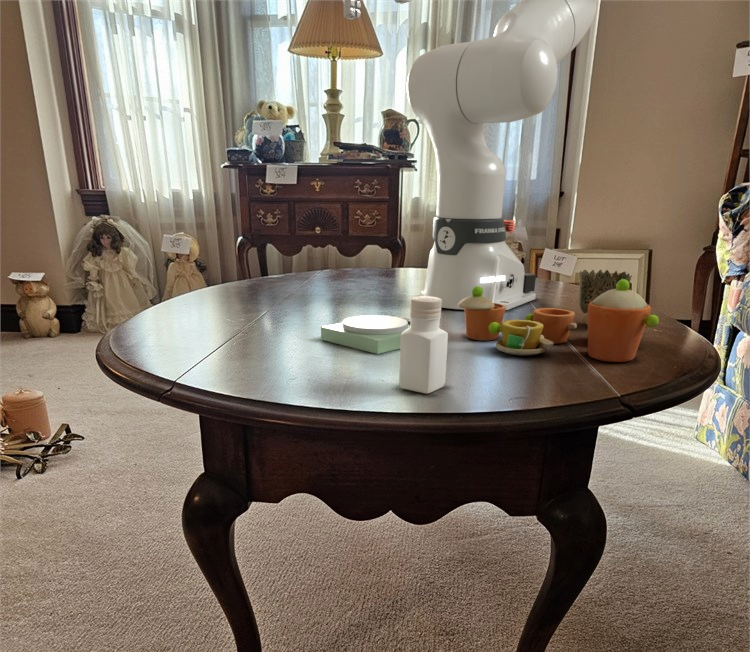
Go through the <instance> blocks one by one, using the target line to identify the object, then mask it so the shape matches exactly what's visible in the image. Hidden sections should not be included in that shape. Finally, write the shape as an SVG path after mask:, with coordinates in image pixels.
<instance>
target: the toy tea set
mask: <svg viewBox="0 0 750 652" xmlns="http://www.w3.org/2000/svg"><path fill="white" fill-rule="evenodd" d="M616 287H617V289H612V290H609V291H606V292H604V293H603V294H601V295H599V296H598V297H597V298H596V299H595V300H594V301H591V302H590V303H589V304H588V313H585V314H584V313H583V314H582V317H581V322H582V323H584V324H585V325H586V324H587V325H588V326H587V325H586V326H587V355H588V356H589V357H590V358H592V359H594V360H598V361H599V362H600V361H601V362H607V363H626V362H627V363H628V362H630V361H633V360H634V359H635V357H636V356H637V355H636V354H637V352H638V349H639V346H640V343H641V341H642V337H643V334H644V332H645V329H648V328H655V327H657V325H658V324H659V321H660V318H659V316H658V315H656V314H651V311H652V308H651V305H650V304H649V303H647V302H646V301H645V299H644V298H643V296H641V295H640V294H639V293H637V292H636V291H634V290H631V289H629V288H630V283H629V282H628V281H627V280H625V279H622V280H620V281H619V282H618V283H617V286H616ZM482 294H483V289H482V288H481V287H480V286H476V287H474V288H473V290H472V295H473V296H469V297H466V298H464V299H463V300H461V301H460V302H459V303H458V306H459V307H461V308H464V309H463V311H464V323H465V335H466V337H467V338H468V339H470V340H474V341H481V342H489V341H495V340H497V339H498V338H499V337H500V334H501V339H500V340H497V341H496V342H495V348H496V349H497V350H498V351H500V352H502V353H505V354H507V355H511V356H512V355H513V356H520V357H528V356H537V355H540V354H543V353H545V352H546V351H547V350H548V349H553V348H554V346H555V345H556V344H557V345H559V344H564V343H566V342H567V341H568V340H569V337H570V333H571V331H573V330H576V329H577V328H578V324H577V322H574V319H575V316H576V313H575V311H573V310H569V309H566V308H565V309H564V308H557V307H556V308H555V307H540V308H535V309H533V311H532V313H528V314H527V315H525V318H524V319H507V320H504V317H505V313H506V310H505V309H506V306H505V305H502V304H498V303H493V302H492V301H491V300H490V299H488V298H486V297H484V296H482Z"/></svg>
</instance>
